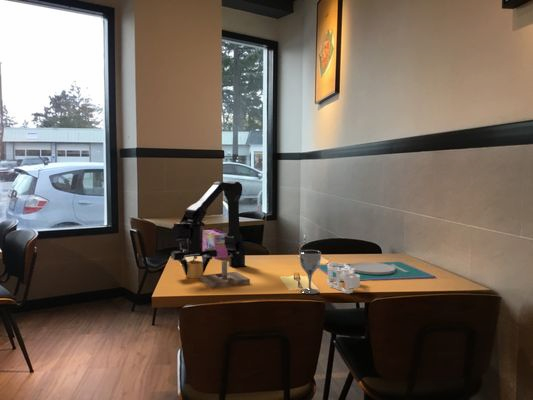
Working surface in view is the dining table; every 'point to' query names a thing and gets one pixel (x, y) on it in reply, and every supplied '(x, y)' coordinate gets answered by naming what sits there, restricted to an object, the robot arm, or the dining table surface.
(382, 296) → the dining table surface
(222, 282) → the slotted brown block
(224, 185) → the robot arm
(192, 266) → the notched tan hollow cylinder
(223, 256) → the gum box
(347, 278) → the clear lumpy piece
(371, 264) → the place mat
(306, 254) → the wine glass
